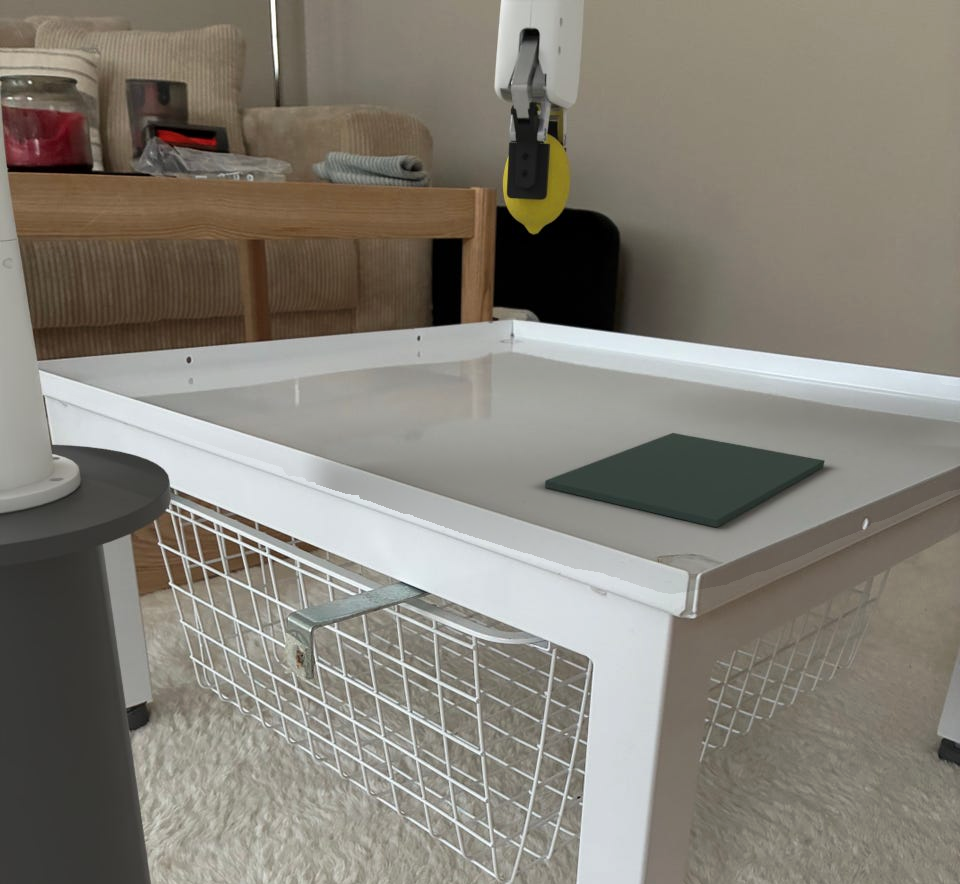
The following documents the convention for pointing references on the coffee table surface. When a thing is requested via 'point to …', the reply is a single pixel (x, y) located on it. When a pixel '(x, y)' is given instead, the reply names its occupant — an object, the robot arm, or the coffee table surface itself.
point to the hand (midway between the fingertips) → (535, 196)
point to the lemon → (549, 208)
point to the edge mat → (688, 478)
